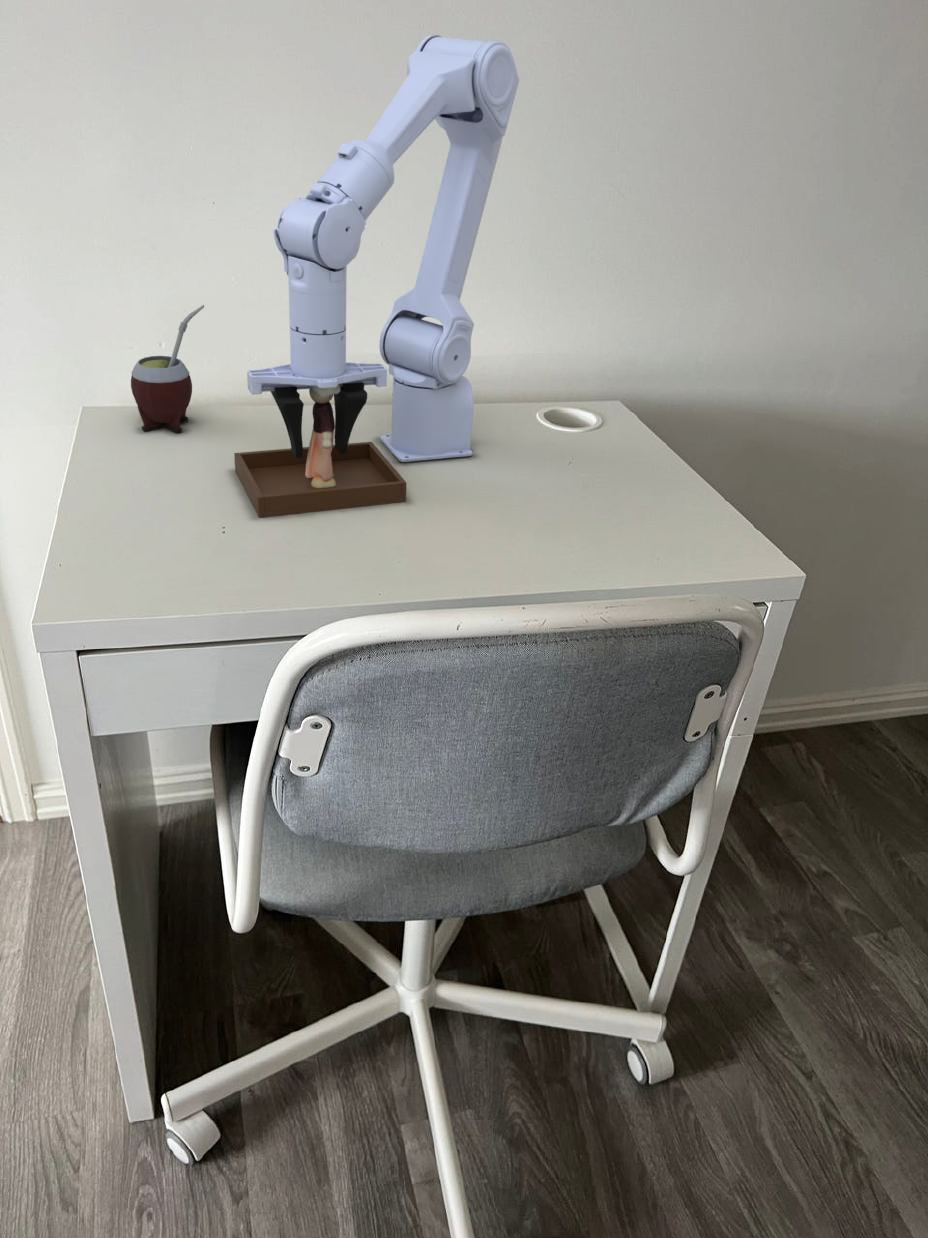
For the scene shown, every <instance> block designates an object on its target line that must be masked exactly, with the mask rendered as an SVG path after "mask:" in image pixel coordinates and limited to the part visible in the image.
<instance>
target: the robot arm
mask: <svg viewBox="0 0 928 1238" xmlns="http://www.w3.org/2000/svg"><path fill="white" fill-rule="evenodd" d="M416 47H417V48H416V49H415V50H414V51H413V53H411V55H409V57H408V58H407V64H406V78H405V80H404V81H403V83H402V84H401V86H400V88H399V89H398V90H397V92H396V94H395V95H394V96H393V97H392V100H391V101H390V102H389V104H388V106H387V107H386V109H385V110H384V112H383V113H382V115H381V116H380V117H379V119H378V121H377V122H376V124H375V125H374V127H373V129H372V130H371V132H370V133H369V134H368V136H367V138H366V139H365V140H363V139H353V140H349V141H348V142H347V143H343V144H342V145H340V147H339V148H338V150H337V152H336V153H337V156H336V158H335V159H334V160H333V161H332V162H331V164H330V166H329V167H328V168H327V169H326V171H324V173H323V174H322V175H321V176H320V178H319V179H318V181H317V182H315V183H314V184H313V185H312V187H311V188H310V191H309V192H308V193H307V194H306V196H305V197H299V198H298V199H297V198H296V199H293V200H292V201H291V202H289V203H288V205H286V206H285V207H284V208H283V210H282V211H281V213H280V214H279V217H278V221H277V225H276V227H277V228H274V229H273V238H274V242H275V245H276V247H277V249H278V250H279V252H280V253H281V256H282V258H283V267H284V268H283V270H284V271H283V272H286V276H288V314H289V356H290V363H288V364H284V365H278V366H273V367H267V368H260V369H250V370H246V378H247V389H248V391H249V393H251V395H254V396H255V395H261V394H263V393H265V392H266V393H267V392H270V393H271V395H272V397H273V400H274V401H275V403H276V405H277V408H278V410H279V413H280V414H281V417H282V419H283V422H284V425H285V428H286V432H287V434H288V438H289V442H290V443H289V444H290V448H291V450H292V453H293V454H294V456H295V457H296V458H300V457H302V456H303V446H304V445H303V433H302V432H303V431H302V427H303V414H304V404H305V403H304V402H303V401H302V400H301V398H300V396H301V395H300V392H298V391H299V390H309V389H312V387H311V386H317V387H319V388H335V387H337V386H338V384H339V385H340V392H339V393H338V394H333V403H334V422H335V429H334V445H335V448H336V449H337V450H338V452H339V453H340V454H345V453H346V451H347V446H348V444H349V441H350V438H351V434H352V431H353V428H354V426H355V423H356V421H357V419H358V417H359V416H360V413H361V411H362V410H363V408H364V407H365V405H366V403H367V401H368V392H367V390H366V389H365V386H376V387H378V388H380V387H381V388H382V387H387V383H388V382H387V381H388V374H389V375H391V376H392V403H391V429H390V433H389V434H380V436H379V439H380V441H381V442H382V443H383V444H384V445H385V446H386V448H387V449H388V450H389V451H390V453H392V454H393V456H394V457H395V458H396V459H397V461H399V462H401V463H408V462H419V461H430V460H441V459H450V458H451V459H452V458H463V457H472V456H473V451H472V450H471V444H472V431H473V421H474V420H473V419H474V404H475V403H474V392H473V388H472V385H471V382H470V381H469V379H468V378H467V377H466V376H464V374H465V372H466V371H467V369H468V367H469V364H470V361H471V356H472V343H471V340H472V334H473V329H474V326H475V323H474V321H473V319H472V317H471V316H470V314H469V313H468V312H467V310H466V308H465V307H464V305H463V304H462V303H461V297H462V293H463V290H464V286H465V281H466V278H467V276H468V275H467V274H468V271H469V266H470V263H471V259H472V256H473V252H474V248H475V244H476V241H477V236H478V233H479V229H480V225H481V221H482V218H483V214H484V211H485V208H486V207H485V206H486V203H487V199H488V195H489V192H490V188H491V184H492V180H493V177H494V172H495V169H496V165H497V161H498V158H499V153H500V150H501V146H502V141H503V137H504V136H505V135H506V132H507V128H508V125H509V120H510V117H511V113H512V110H513V106H514V102H515V98H516V95H517V90H518V87H519V83H520V78H519V74H518V70H517V67H516V63H515V58H514V56H513V53H512V51H511V49H510V47H509V46H508V44H506V43H505V42H503V41H501V40H489V41H488V40H487V41H486V40H478V39H477V40H476V39H468V38H467V39H465V38H455V37H446V36H445V37H443V36H442V35H440V34H430V35H427V36H425V37H424V38H423V39H421V41H420V43H419V44H418V46H416ZM434 120H435V122H436V123H437V124H438V126H439V128H441V129H443V130H444V131H445V133H446V136H447V138H448V140H449V150H448V153H447V157H446V160H445V166H444V170H443V174H442V177H441V181H440V184H439V189H438V193H437V197H436V201H435V205H434V209H433V212H432V217H431V221H430V225H429V228H428V232H427V236H426V241H425V245H424V249H423V254H422V256H421V261H420V265H419V269H418V272H417V276H416V281H415V285H414V287H413V288H412V289H410V290H409V291H408V292H406V293H404V294H403V295H401V296H400V297H398V298H397V299H395V300H394V303H393V306H392V310H391V313H390V316H389V317H388V319H387V321H386V322H385V324H384V325H383V328H382V330H381V332H380V336H379V352H380V356H381V359H382V360H383V362H384V363H385V364H386V365H388V368H387V367H386V366H384V365H383V364H382V363H362V362H347V270H348V269H347V267H348V265H349V264H350V263H351V262H352V261H353V260H355V258H356V257H357V255H358V252H359V250H360V247H361V241H362V240H361V239H362V235H363V233H364V231H365V230H366V227H365V226H366V225H367V222H366V221H367V220H368V218H369V217H370V216H371V215H372V213H373V212H374V210H375V209H376V208H377V206H379V204H380V203H381V201H383V198H384V197H385V196H386V195H387V193H388V192H389V191H390V189H391V188H392V187H393V185H394V183H395V169H394V165H395V164H396V163H397V162H398V160H399V159H400V158H401V157H402V156H403V155H404V153H406V151H407V150H408V149H409V148H410V147H411V146H412V145H413V143H414V142H416V140H417V139H418V138H419V137H420V136H421V135H422V133H423V132H424V131H425V130H426V129H428V127H429V126H430V125H431V123H433V122H434ZM425 318H432V319H436V320H437V321H439V322H440V323H441V324H438V323H436V322H432V321H429V320H425Z"/></svg>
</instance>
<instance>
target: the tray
mask: <svg viewBox="0 0 928 1238" xmlns="http://www.w3.org/2000/svg"><path fill="white" fill-rule="evenodd" d="M308 450H309V446H304V447H303V456H302V457H300V458H296V457H295V456H294V454H293V453H292V450H291V447H289V448H278V449H266V450H255V451H244V452H242V451H241V452H234V453H233V454H234V455H233V457H234V472H235V474H236V476H237V478H238V479H239V482H240V484H241V485H242V487H243V489H244V491H245V493H246V495H247V497H248V499H249V501H250V504H251V505H252V508H253V509H254V511H255V513H256V515H257V516H258V518H267V517H268V518H269V517H277V516H286V515H287V516H288V515H295V514H304V513H311V512H312V513H313V512H322V511H333V510H341V509H350V508H361V507H370V506H378V505H388V504H396V503H405V502H407V481H406V480H405V479H404V478H403V477H402V475H401V474H400V473H399V471H397V469H396V468H395V467H394V466H393V465H392V464H391V462H390V461H389V460H388V459H387V458H386V456H385V455H384V454H383V453H382V452H381V450H379V448H378V446H376V445H375V443H374V442H373V441H362V442H351V443H349V442H348V446H347V451H346V453H345V454H340V453H339V452H338V450H337V449H336V448H335V444H333V447H332V451H331V460H332V470H333V474H334V477H333V479H334V480H335V482H336V486H334V487H328V488H315V487H313V486H312V485H311V482H312V479H313V478H312V477H311V478H307V477H306V476H305V472H306V462H307V455H308Z"/></svg>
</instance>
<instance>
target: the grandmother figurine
mask: <svg viewBox="0 0 928 1238" xmlns="http://www.w3.org/2000/svg"><path fill="white" fill-rule="evenodd" d="M311 387H312V389H308V392H309V396H310V398H311V400H312V401H313V402H314V404H313V405H312V419H313V425H312V432H311V437H310V440H309V445H308V447H309V450H308V455H307V462H306V472H305V476H306V477H307V478H311V477H312V478H313V479H312V482H311V485H312V486H313V487H315V488H328V487H334V486H336V482H335V480H334V479H333V477H334V474H333V470H332V460H331V451H332V447H333V445H334V440H335V438H334V436H335V415H334V410H333V409H334V408H333V406H332V404H331V402H330V401H331V400H332V399H333V398H334V394H338V393H339V392H340V385H339V384H338V386H337V387H335V388H319V387H317V386H311Z"/></svg>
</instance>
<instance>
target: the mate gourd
mask: <svg viewBox="0 0 928 1238" xmlns="http://www.w3.org/2000/svg"><path fill="white" fill-rule="evenodd" d="M203 309H205V304H203V305H201V306H199V307H197V308H196V309H195V310H193V311H191V312H190V313H188V315H187V316H186V317H184V318H183V320H182V321H180V323H179V326H178V333H177V336H176V340H175V343H174V347H173V351H172V354H171V356H169V355H151V356H146V357H145V356H144V357H143V358H140V359H138V360H137V362H136V363H135V365H134V366H133V368H132V370H131V376H130V377H131V378H130V388H131V394H132V395H133V398H134V401H135V404H136V406H137V411H138V413H139V416H140V418H141V420H142V423H143V426H141V430H142V432H144V433H146V432H152V431H154V430H159V429H167V430H169V431H171V432H173V433H175V434H181V433H183V428H182V427H181V426H180V424H183V423H187V422H189V416H187V409H188V407H189V405H190V404H191V403H190V402H191V399H192V394H193V383H192V377H191V374H190V371H189V370H188V367H187V366H186V365H185V363H184V362H183V361H182V360H181V359H180V358H178V354H179V350H180V347H181V344H182V340H183V337H184V333H186V330H187V328H188V324H189V322H190V321H191V320H192V319H193V318H194V317H195V316H196V315H197V314H198V313H199V312H201V311H202V310H203Z"/></svg>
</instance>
